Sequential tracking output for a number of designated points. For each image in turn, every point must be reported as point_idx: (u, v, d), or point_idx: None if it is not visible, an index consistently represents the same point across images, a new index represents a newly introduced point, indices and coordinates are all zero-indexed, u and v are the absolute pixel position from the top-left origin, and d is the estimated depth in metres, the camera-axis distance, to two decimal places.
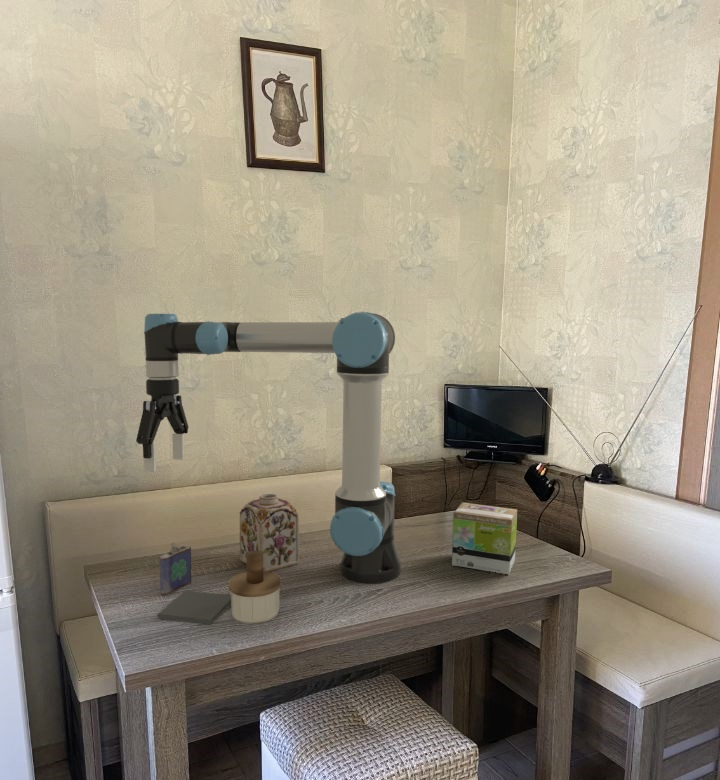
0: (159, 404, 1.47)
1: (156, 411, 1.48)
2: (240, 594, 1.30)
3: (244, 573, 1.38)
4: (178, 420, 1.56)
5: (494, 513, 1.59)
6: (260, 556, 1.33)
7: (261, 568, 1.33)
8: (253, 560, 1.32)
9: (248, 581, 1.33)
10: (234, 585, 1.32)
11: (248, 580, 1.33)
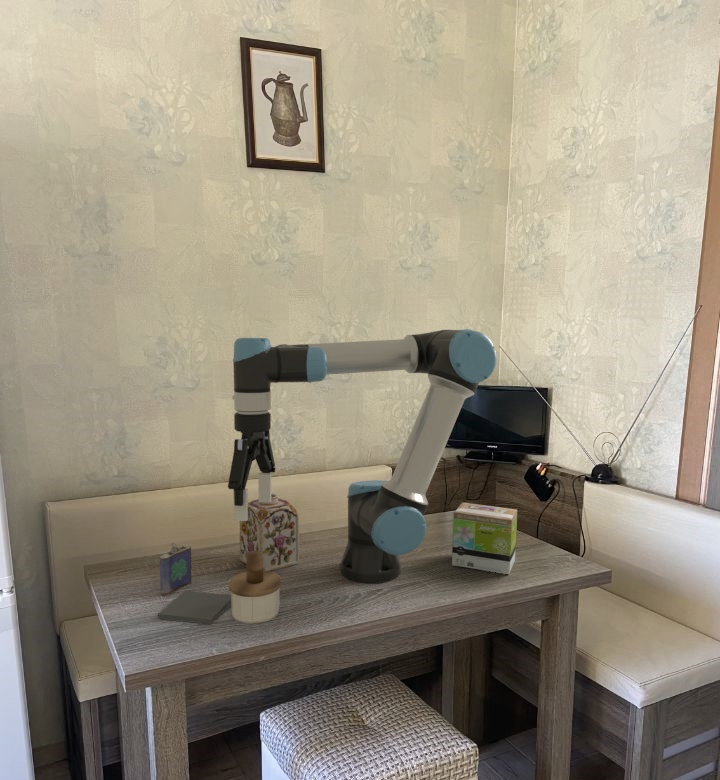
0: (251, 442, 1.28)
1: None
2: (240, 594, 1.30)
3: (244, 573, 1.38)
4: (266, 458, 1.37)
5: (494, 513, 1.59)
6: (260, 556, 1.33)
7: (261, 568, 1.33)
8: (253, 560, 1.32)
9: (248, 581, 1.33)
10: (234, 585, 1.32)
11: (248, 580, 1.33)
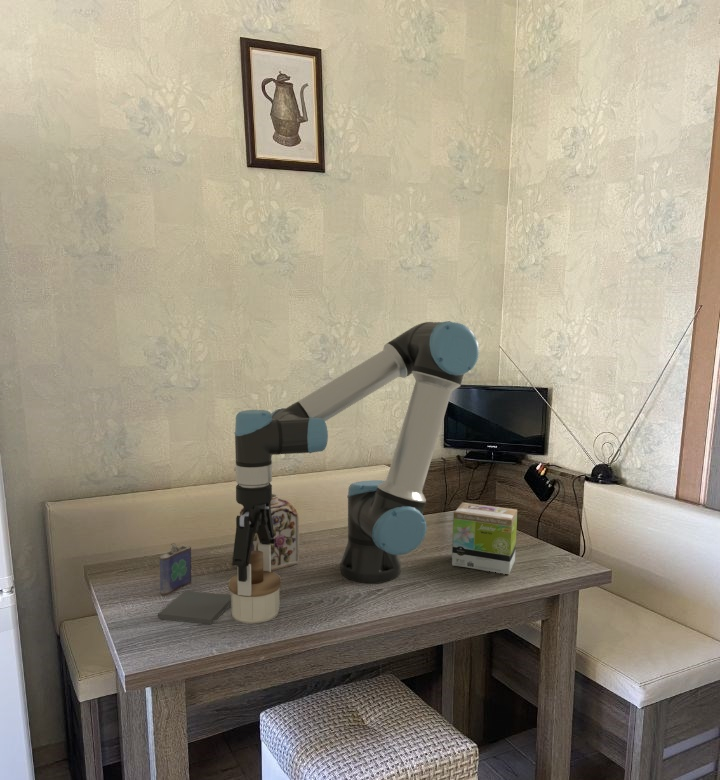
0: (252, 516, 1.29)
1: None
2: None
3: None
4: (267, 529, 1.38)
5: (494, 513, 1.59)
6: (260, 556, 1.33)
7: (261, 568, 1.33)
8: (253, 560, 1.32)
9: None
10: (234, 585, 1.32)
11: None
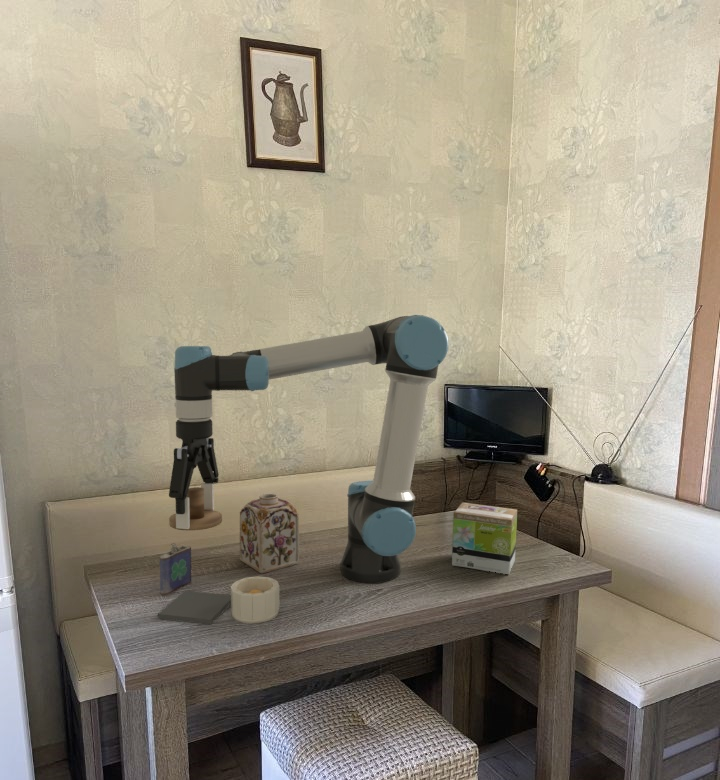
0: (191, 449, 1.30)
1: (188, 458, 1.31)
2: None
3: None
4: (209, 467, 1.38)
5: (494, 513, 1.59)
6: (200, 492, 1.33)
7: (201, 504, 1.33)
8: (193, 496, 1.32)
9: None
10: (174, 520, 1.32)
11: None
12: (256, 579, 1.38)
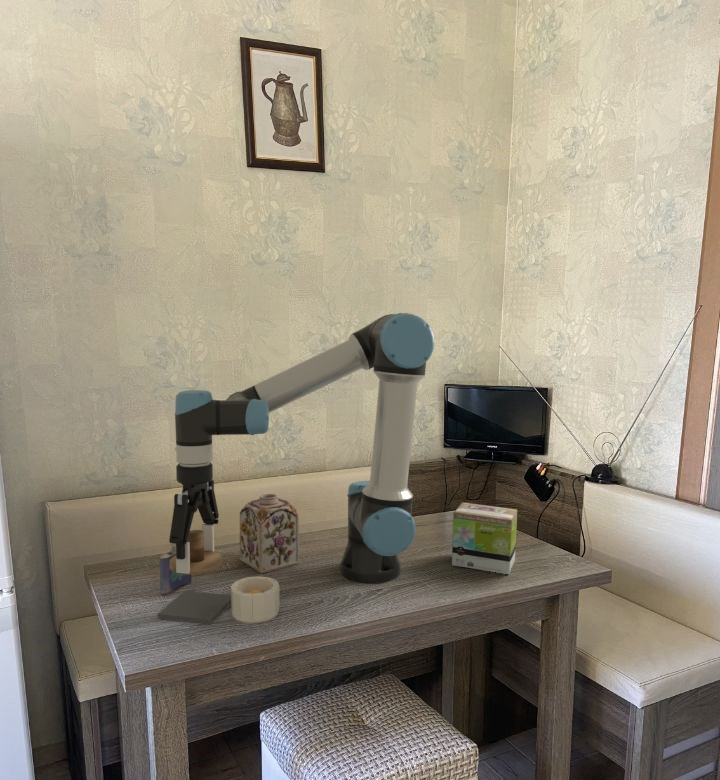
0: (191, 494, 1.31)
1: (188, 502, 1.32)
2: None
3: None
4: (209, 509, 1.39)
5: (494, 513, 1.59)
6: (200, 535, 1.34)
7: (201, 547, 1.34)
8: (194, 539, 1.33)
9: None
10: (174, 563, 1.33)
11: None
12: (256, 579, 1.38)
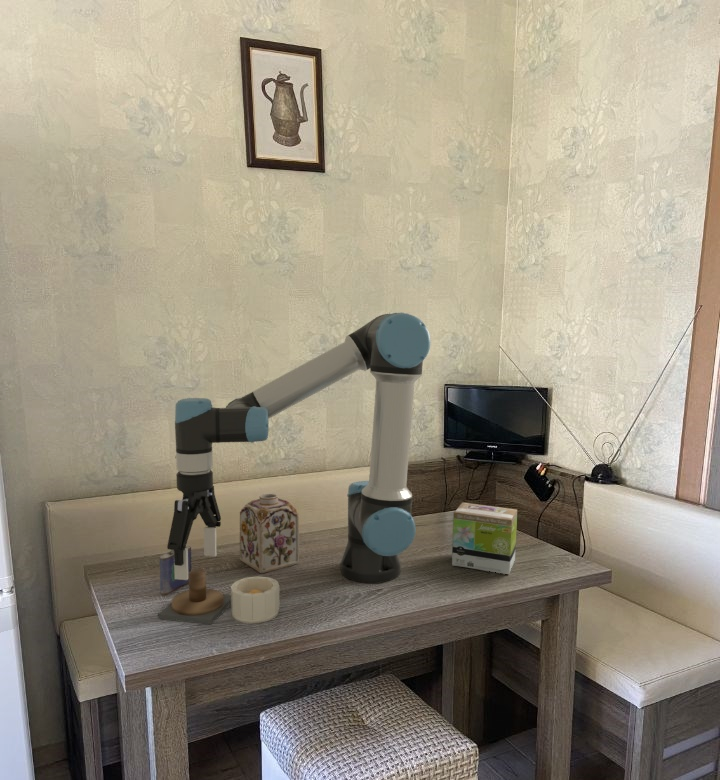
0: (192, 502, 1.31)
1: (188, 509, 1.32)
2: (181, 613, 1.32)
3: (188, 591, 1.41)
4: (211, 514, 1.40)
5: (494, 513, 1.59)
6: (202, 575, 1.35)
7: (203, 587, 1.36)
8: (195, 579, 1.35)
9: (190, 599, 1.35)
10: (176, 603, 1.34)
11: (190, 598, 1.35)
12: (256, 579, 1.38)
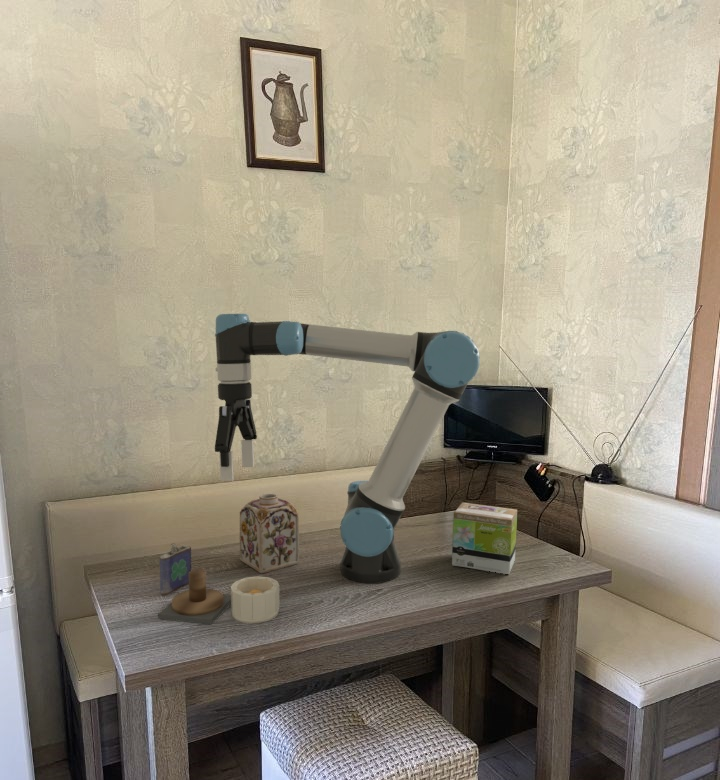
0: (234, 409, 1.39)
1: (230, 417, 1.40)
2: (181, 613, 1.32)
3: (188, 591, 1.41)
4: (248, 425, 1.48)
5: (494, 513, 1.59)
6: (202, 575, 1.35)
7: (203, 587, 1.36)
8: (195, 579, 1.35)
9: (190, 599, 1.35)
10: (176, 603, 1.34)
11: (190, 598, 1.35)
12: (256, 579, 1.38)
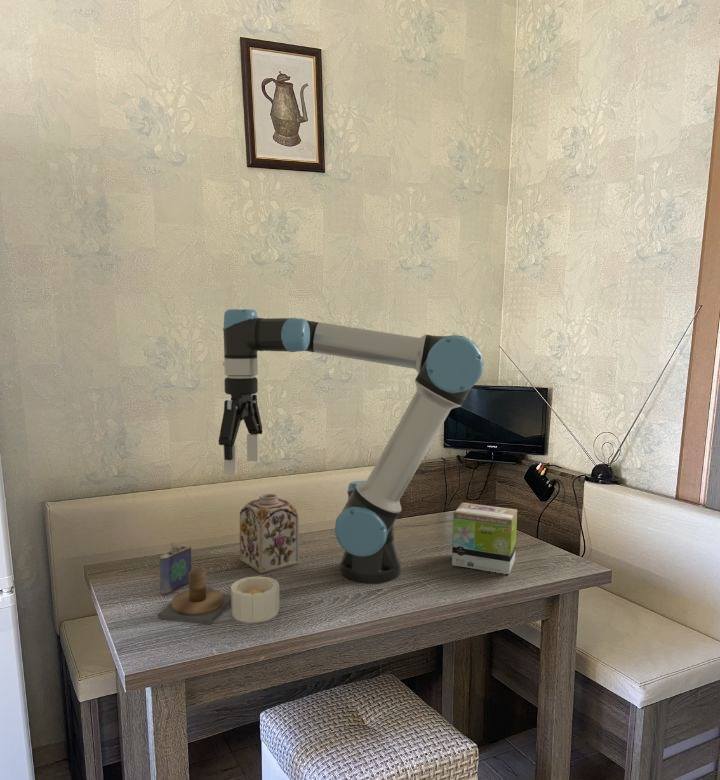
0: (239, 403, 1.41)
1: (235, 411, 1.42)
2: (181, 613, 1.32)
3: (188, 591, 1.41)
4: (254, 420, 1.50)
5: (494, 513, 1.59)
6: (202, 575, 1.35)
7: (203, 587, 1.36)
8: (195, 579, 1.35)
9: (190, 599, 1.35)
10: (176, 603, 1.34)
11: (190, 598, 1.35)
12: (256, 579, 1.38)
